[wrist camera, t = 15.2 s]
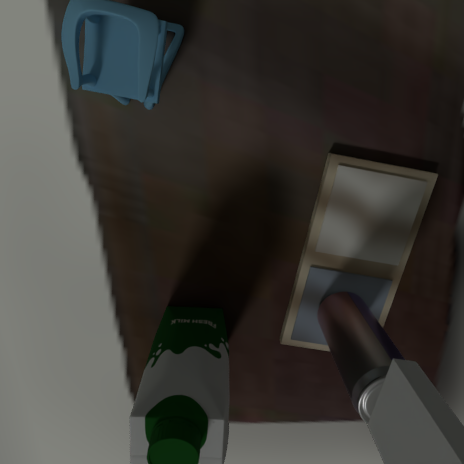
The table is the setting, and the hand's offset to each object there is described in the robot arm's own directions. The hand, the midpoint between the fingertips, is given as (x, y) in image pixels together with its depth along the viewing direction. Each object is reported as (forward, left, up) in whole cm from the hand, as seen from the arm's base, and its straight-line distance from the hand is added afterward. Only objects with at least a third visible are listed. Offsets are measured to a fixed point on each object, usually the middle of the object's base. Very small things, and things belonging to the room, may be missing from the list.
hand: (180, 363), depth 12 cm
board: (+7, +18, -32) cm, 37 cm away
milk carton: (+20, +1, -32) cm, 38 cm away
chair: (-10, -9, -32) cm, 35 cm away
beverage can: (+13, +18, -30) cm, 37 cm away
